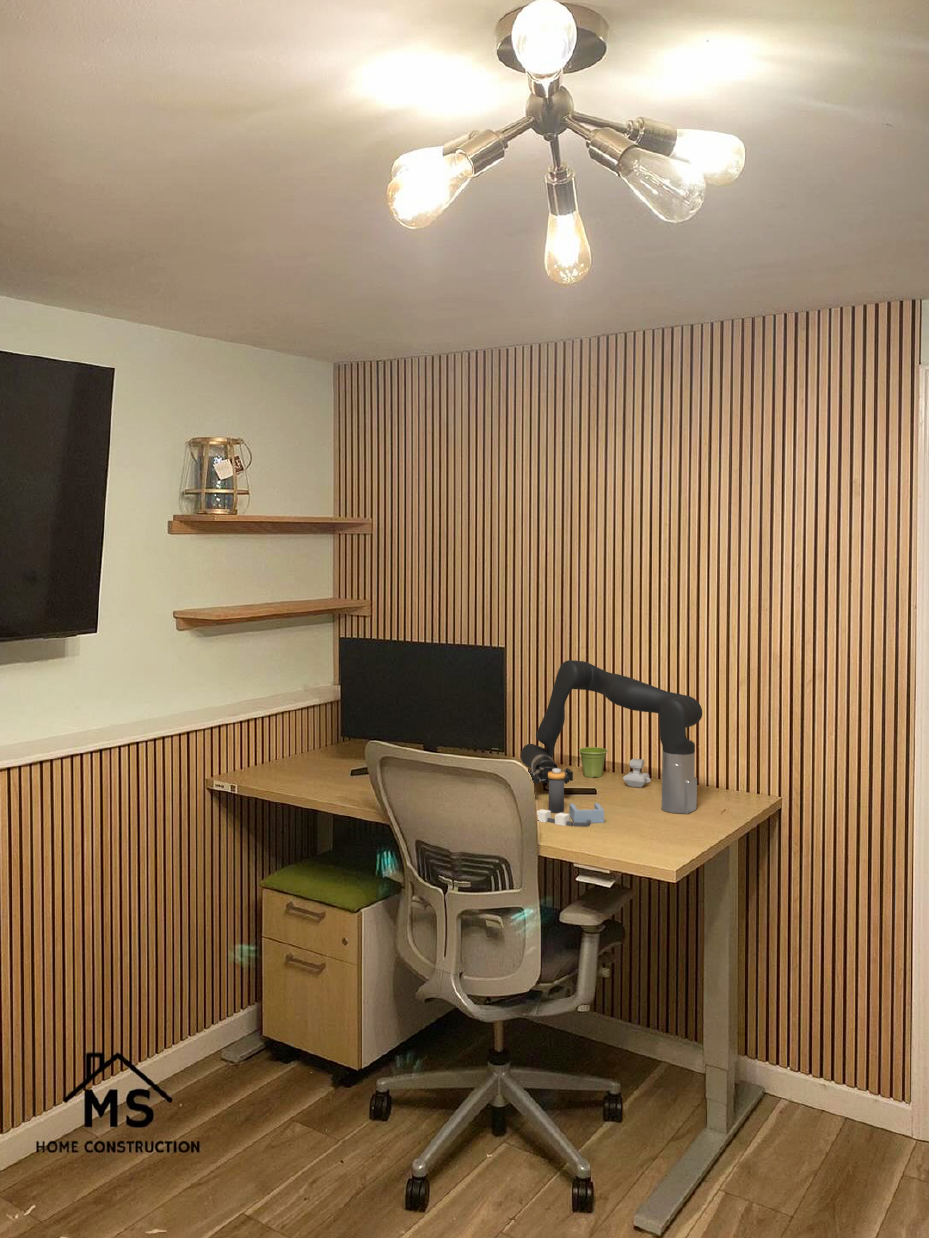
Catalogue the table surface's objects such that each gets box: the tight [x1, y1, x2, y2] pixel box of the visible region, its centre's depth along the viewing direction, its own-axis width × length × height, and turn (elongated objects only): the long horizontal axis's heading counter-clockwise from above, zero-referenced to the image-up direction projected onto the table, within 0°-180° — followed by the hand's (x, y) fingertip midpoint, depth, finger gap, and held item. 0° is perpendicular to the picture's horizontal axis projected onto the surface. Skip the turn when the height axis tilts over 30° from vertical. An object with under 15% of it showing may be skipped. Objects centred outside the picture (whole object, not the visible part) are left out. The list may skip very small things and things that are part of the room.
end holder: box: [568, 802, 605, 824], centre depth 286 cm, size 8×8×4 cm
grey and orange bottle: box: [548, 767, 565, 814], centre depth 293 cm, size 5×5×12 cm
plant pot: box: [578, 746, 608, 778], centre depth 336 cm, size 9×9×9 cm
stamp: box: [622, 758, 651, 788], centre depth 322 cm, size 9×7×8 cm
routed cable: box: [536, 808, 592, 827], centre depth 282 cm, size 15×7×3 cm, turn 54°
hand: (552, 780), depth 301 cm, fingers open, 8 cm apart
